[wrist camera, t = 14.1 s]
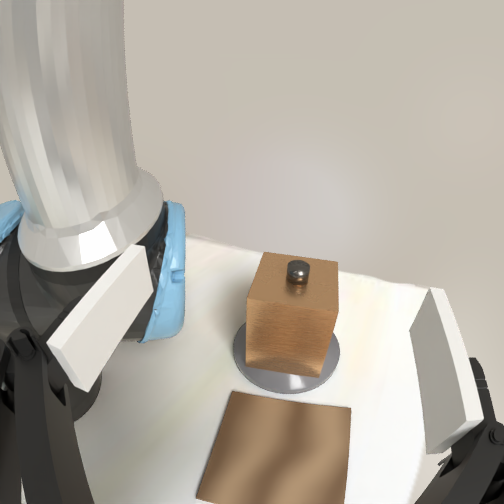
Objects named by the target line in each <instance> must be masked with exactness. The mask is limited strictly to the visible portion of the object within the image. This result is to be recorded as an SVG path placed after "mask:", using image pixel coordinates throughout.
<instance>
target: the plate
mask: <svg viewBox="0 0 504 504" xmlns="http://www.w3.org/2000/svg"><path fill="white" fill-rule="evenodd" d="M339 356H340V348H339V343H338V340H337V338H336V336H335V334H334V333H332V337H331V340H330V344H329V347H328V350H327V354H326V357H325V360H324V363H323V367H322V370H321V373H320V376H319V378H315V377H307V376H300V375H293V374H286V373H280V372H274V371H268V370H262V369H257V368H251V367H246V323H245V324H244V325H243V326H242V327H241V328H240V329H239V331H238V332H237V334H236V337H235V340H234V358H235V362H236V364H237V366H238V368H239V370H240V371H241V373H242V374H243V375H244V376H245V377H246V378H247V379H248V380H249V381H251V382H252V383H253V384H255V385H257V386H259V387H260V388H263V389H265V390H268V391H271V392H275V393H282V394H296V393H302V392H307V391H310V390H312V389H315V388H317V387H319V386H320V385H322V384H323V383H325V382H326V381H327V380H328V379H329V378H330V377H331V375H332V374H333V372H334V371H335V369H336V366H337V363H338V360H339Z"/></svg>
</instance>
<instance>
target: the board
mask: <svg viewBox="0 0 504 504" xmlns="http://www.w3.org/2000/svg"><path fill="white" fill-rule="evenodd" d="M350 423H351V408H344V407H333V406H323V405H314V404H306V403H298V402H291V401H285V400H278V399H272V398H266V397H261V396H255V395H250V394H245V393H240V392H235V391H232V394H231V397H230V400H229V403H228V406H227V409H226V412H225V415H224V418H223V421H222V424H221V427H220V430H219V433H218V436H217V439H216V442H215V445H214V448H213V451H212V453H211V456H210V459H209V462H208V465H207V468H206V471H205V474H204V476H203V479H202V482H201V485H200V488H199V491H198V493H197V496H196V499H200V500H203V501H207V502H211V503H215V504H344V499H345V490H346V481H347V470H348V458H349V443H350Z"/></svg>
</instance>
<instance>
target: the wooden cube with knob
mask: <svg viewBox="0 0 504 504" xmlns="http://www.w3.org/2000/svg"><path fill="white" fill-rule="evenodd" d="M338 312H339V304H338V262H335V261H327V260H320V259H313V258H305V257H298V256H291V255H284V254H276V253H269V252H264V253H263V256H262V258H261V261H260V264H259V267H258V269H257V272H256V275H255V277H254V280H253V283H252V285H251V288H250V291H249V294H248V296H247V311H246V367H251V368H257V369H262V370H268V371H274V372H280V373H286V374H293V375H300V376H307V377H315V378H319V376H320V373H321V370H322V367H323V363H324V360H325V357H326V354H327V350H328V347H329V344H330V340H331V337H332V333H333V330H334V326H335V323H336V319H337V315H338Z"/></svg>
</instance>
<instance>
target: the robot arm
mask: <svg viewBox="0 0 504 504" xmlns="http://www.w3.org/2000/svg"><path fill="white" fill-rule="evenodd" d="M0 146H1V149H2V152H3V155H4V158H5V161H6V164H7V167H8V170H9V173H10V175H11V178H12V181H13V183H14V186H15V188H16V191H17V194H18V196H19V199H20V201H21V202H20V201H16V200H14V201H8V202H5V203H3V204H0V504H21V477H22V483H23V488H24V493H25V498H26V502H27V504H94V501H93V498H92V495H91V492H90V489H89V485H88V482H87V478H86V475H85V471H84V468H83V464H82V460H81V456H80V452H79V447H78V443H77V438H76V434H75V429H74V423H73V422H74V421H76V420H78V419H79V418H80V417H81V416H83V415H84V414H85V413H86V412H87V411H88V409H89V408H90V407H91V406H92V404H93V403H94V401H95V399H96V397H97V395H98V392H99V389H100V385H101V371H102V369H103V367H104V366H105V364H106V363H107V361H108V360H109V358H110V356H111V355H112V353H113V352H114V350H115V348H116V347H117V345H118V344H119V342H126V341H137V342H138V343H145V342H147V341H148V340H157V339H165V338H171V337H173V336H175V335H176V334H178V333H179V331H180V330H181V328H182V326H183V323H184V313H185V277H184V273H185V211H184V207H183V206H182V205H181V204H179V203H173V202H172V201H163V194H162V190H161V187H160V184H159V182H158V181H157V179H156V178H155V177H154V176H153V175H152V174H150V173H149V172H147V171H145V170H143V169H141V168H139V167H137V166H136V159H135V151H134V145H133V137H132V129H131V120H130V111H129V102H128V92H127V79H126V65H125V48H124V0H0ZM409 332H410V337H411V341H412V346H413V352H414V357H415V363H416V368H417V374H418V381H419V387H420V394H421V402H422V410H423V419H424V429H425V441H426V454H437V453H443V452H445V451H446V450H447V449H448V448H450V447H451V451H452V453H451V454H450V455H449V456H447V457H446V458H444V459H443V460H442V461H440V462H439V463H438V465H439V466H440V465H441V464H442V463H444V464H443V465H442V467H441V468H440V470H439V471H438V473H437V474H436V476H435V477H434V479H433V480H432V481H431V483H430V484H429V485H428V487H427V488H426V489H425V491H424V492H423V493H422V495H421V496H420V497H419V498H418V500H417V501H416V502H415V504H504V426H503V424H501V423H499V422H497V421H496V418H495V414H494V409H493V406H492V401H491V397H490V393H489V390H488V389H487V387H488V386H487V382H486V380H485V375H484V372H483V369H482V367H481V365H480V364H479V362H478V361H477V360H476V358H468V355H467V352H466V348H465V345H464V342H463V340H462V336H461V333H460V331H459V328H458V325H457V322H456V319H455V317H454V314H453V311H452V309H451V306H450V304H449V301H448V299H447V296H446V294H445V291H444V289H439V288H432V287H430V288H429V290H428V292H427V294H426V297H425V299H424V301H423V303H422V305H421V307H420V310H419V312H418V314H417V316H416V318H415V320H414V322H413V324H412V326H411V328H410V330H409Z"/></svg>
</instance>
